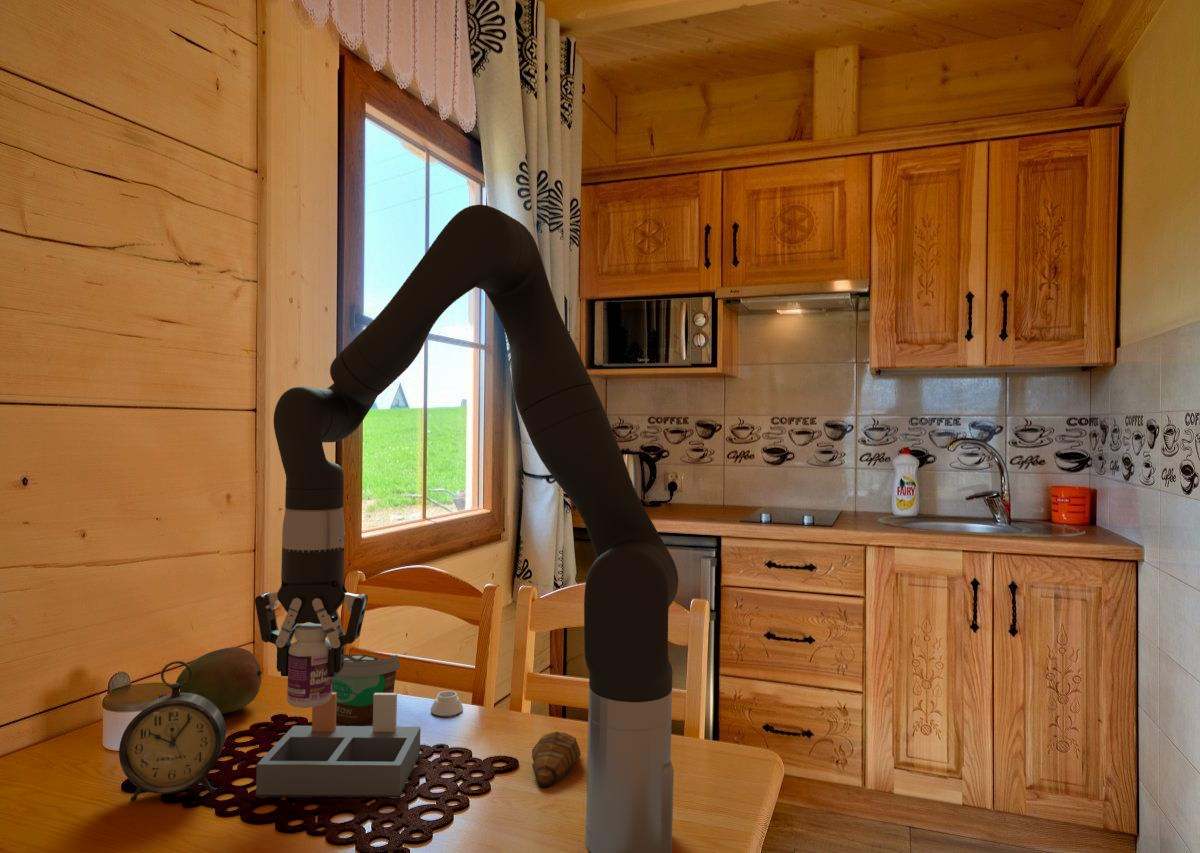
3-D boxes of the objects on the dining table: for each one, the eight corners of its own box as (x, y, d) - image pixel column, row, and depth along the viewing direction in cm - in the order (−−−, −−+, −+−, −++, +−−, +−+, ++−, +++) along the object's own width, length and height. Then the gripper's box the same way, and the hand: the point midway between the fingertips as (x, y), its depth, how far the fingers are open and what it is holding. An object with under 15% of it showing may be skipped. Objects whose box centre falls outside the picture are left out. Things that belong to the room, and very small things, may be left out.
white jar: (435, 706, 123) (427, 718, 118) (435, 688, 123) (427, 699, 118) (465, 707, 123) (458, 719, 118) (465, 689, 123) (459, 700, 118)
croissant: (569, 794, 94) (570, 754, 94) (517, 789, 96) (518, 749, 96) (589, 750, 108) (590, 715, 108) (543, 745, 109) (544, 711, 109)
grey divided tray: (419, 755, 104) (421, 690, 104) (399, 797, 92) (401, 724, 92) (292, 754, 103) (294, 689, 103) (255, 797, 91) (257, 723, 91)
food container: (306, 723, 114) (307, 657, 114) (331, 709, 120) (333, 646, 120) (376, 734, 111) (377, 666, 111) (399, 719, 117) (400, 655, 117)
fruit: (253, 723, 114) (255, 658, 114) (161, 730, 111) (163, 662, 111) (266, 697, 125) (268, 637, 125) (183, 702, 122) (184, 641, 122)
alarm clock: (116, 808, 88) (119, 670, 88) (131, 787, 93) (134, 656, 93) (218, 798, 91) (221, 664, 91) (227, 778, 96) (231, 652, 96)
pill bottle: (316, 710, 93) (318, 633, 93) (278, 706, 94) (279, 630, 94) (340, 695, 98) (341, 622, 98) (303, 692, 99) (305, 619, 99)
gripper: (244, 546, 92) (240, 684, 92) (361, 548, 93) (358, 685, 93) (268, 537, 100) (265, 665, 100) (377, 539, 100) (374, 666, 100)
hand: (310, 674), depth 96 cm, fingers closed on pill bottle, 5 cm apart
